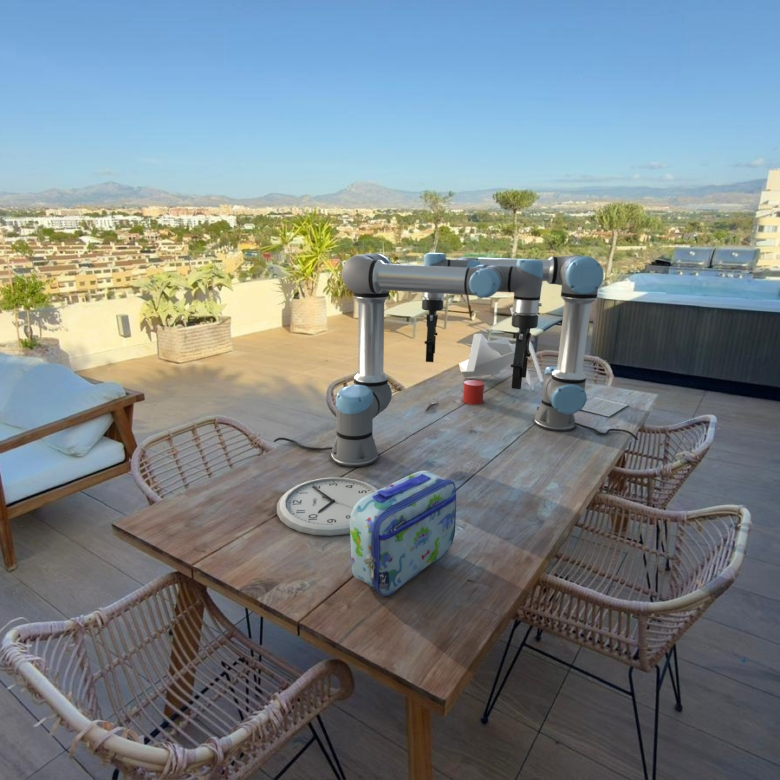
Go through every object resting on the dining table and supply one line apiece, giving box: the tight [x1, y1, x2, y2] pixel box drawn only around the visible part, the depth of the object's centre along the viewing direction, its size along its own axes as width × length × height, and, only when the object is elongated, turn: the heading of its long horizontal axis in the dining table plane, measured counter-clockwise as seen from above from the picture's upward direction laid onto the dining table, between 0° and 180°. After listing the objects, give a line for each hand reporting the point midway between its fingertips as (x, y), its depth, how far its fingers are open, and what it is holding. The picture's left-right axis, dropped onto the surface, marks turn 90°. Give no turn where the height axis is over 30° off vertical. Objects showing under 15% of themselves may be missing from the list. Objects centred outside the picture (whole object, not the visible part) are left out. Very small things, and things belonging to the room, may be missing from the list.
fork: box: [425, 396, 439, 412], centre depth 222 cm, size 3×16×2 cm, turn 160°
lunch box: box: [349, 470, 457, 597], centre depth 114 cm, size 26×11×21 cm, turn 134°
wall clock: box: [276, 476, 380, 537], centre depth 142 cm, size 30×2×30 cm
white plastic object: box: [458, 306, 544, 391], centre depth 258 cm, size 37×45×31 cm
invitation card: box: [580, 396, 629, 418], centre depth 226 cm, size 21×1×15 cm
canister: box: [462, 379, 485, 406], centre depth 229 cm, size 9×9×9 cm
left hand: (518, 382), depth 160 cm, fingers open, 13 cm apart
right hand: (430, 357), depth 190 cm, fingers open, 13 cm apart
